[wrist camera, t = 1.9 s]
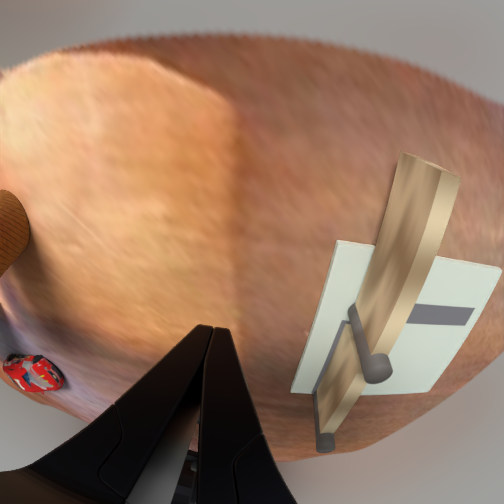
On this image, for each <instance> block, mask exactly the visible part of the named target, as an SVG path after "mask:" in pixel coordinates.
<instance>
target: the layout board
mask: <svg viewBox="0 0 504 504" xmlns="http://www.w3.org/2000/svg"><path fill="white" fill-rule="evenodd" d="M374 249H375V246H374V245H368V244H362V243H355V242H349V241H342V240H336V244H335V248H334V251H333V255H332V259H331V263H330V266H329V270H328V273H327V277H326V280H325V284H324V287H323V291H322V294H321V298H320V301H319V304H318V307H317V311H316V314H315V317H314V320H313V324H312V327H311V330H310V333H309V336H308V339H307V342H306V345H305V348H304V351H303V354H302V357H301V360H300V363H299V365H298V368H297V371H296V374H295V377H294V380H293V382H292V385H291V393H306V394H313V393H314V392H315V391H316V390H317V389H318V387H319V384H320V382H321V380H322V378H323V376H324V374H325V371H326V369H327V367H328V365H329V362H330V360H331V358H332V356H333V353H334V351H335V349H336V346H337V344H338V342H339V339H340V337H341V334H342V332H343V329H344V327H345V324H350V321H349V317H348V309H349V307H350V306H351V305H352V304H354V303H355V302H356V301H357V298H358V296H359V293H360V290H361V287H362V284H363V282H364V279H365V276H366V273H367V270H368V267H369V264H370V261H371V258H372V255H373V252H374ZM501 273H502V270H501V269H500V268H499V267H495V266H490V265H484V264H479V263H474V262H468V261H463V260H457V259H451V258H446V257H440V256H435V259H434V261H433V264H432V266H431V269H430V271H429V274H428V276H427V278H426V281H425V283H424V285H423V288H422V290H421V292H420V294H419V296H418V299H417V301H416V303H415V305H414V307H413V309H412V311H411V313H410V315H409V317H408V319H407V321H406V323H405V325H404V327H403V329H402V331H401V333H400V335H399V337H398V339H397V340H396V342H395V344H394V346H393V348H392V349H391V351H390V353H389V355H388V357H389V360H390V363H391V366H392V369H393V373H392V375H391V376H390V378H388V379H387V380H386V381H384V382H382V383H378V384H368V383H367V385H366V387H365V388H364V390H363V391H362V393H361V394H360V395H387V394H408V393H422V392H428V391H429V390H430V389H431V387H432V386H433V385H434V383H435V382H436V381H437V380H438V378H439V377H440V376H441V374H442V373H443V371H444V370H445V369H446V367H447V366H448V364H449V363H450V362H451V360H452V359H453V357H454V356H455V354H456V353H457V351H458V350H459V348H460V347H461V345H462V344H463V342H464V341H465V339H466V337H467V336H468V334H469V333H470V331H471V329H472V328H473V326H474V324H475V323H476V321H477V319H478V317H479V316H480V314H481V312H482V310H483V308H484V307H485V305H486V303H487V301H488V299H489V297H490V295H491V293H492V291H493V289H494V287H495V285H496V283H497V281H498V279H499V277H500V275H501Z"/></svg>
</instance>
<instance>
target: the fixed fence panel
mask: <svg viewBox="0 0 504 504" xmlns="http://www.w3.org/2000/svg"><path fill="white" fill-rule="evenodd" d="M366 385H367V383H366V382H365V380H364V376H363V372H362V367H361V363H360V359H359V355H358V351H357V347H356V343H355V339H354V336H353V332H352V328H351V324H345V327H344V329H343V332H342V334H341V337H340V339H339V342H338V344H337V346H336V349H335V351H334V353H333V356H332V358H331V360H330V362H329V365H328V367H327V369H326V371H325V374H324V376H323V378H322V380H321V382H320V384H319V387H318V389H317V390H316V391H315V392H314V393H313V401H314V416H315V431H316V450H317V452H319V453H328V452H332V451H334V450H335V441H334V432H335V431H336V429H337V428H338V427H339V425H340V424H341V422H342V421H343V420H344V418H345V417H346V415H347V414H348V412H349V411H350V410H351V408H352V407H353V405H354V404H355V402H356V401H357V399H358V398H359V396H360V394H361V393H362V391H363V390H364V388H365V387H366Z"/></svg>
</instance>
